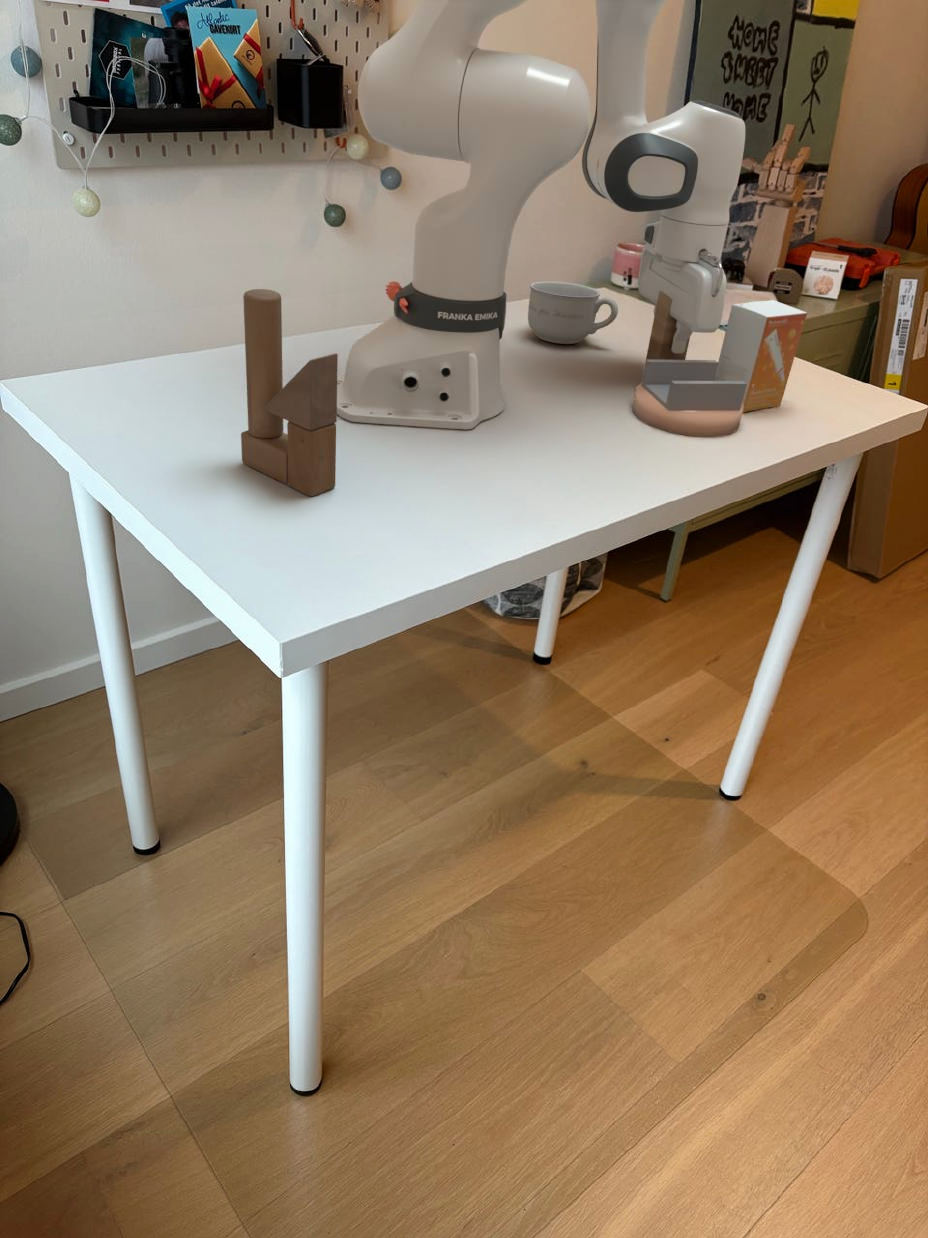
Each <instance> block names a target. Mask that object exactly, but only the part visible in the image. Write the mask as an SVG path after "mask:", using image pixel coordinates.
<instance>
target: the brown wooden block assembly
mask: <svg viewBox="0 0 928 1238" xmlns="http://www.w3.org/2000/svg"><path fill="white" fill-rule="evenodd" d="M282 316H283V314H282V295H281V294H280V293H279V292H277V291H275V290H272V289H267V288H266V289H265V288H264V289H263V288H253V289H249V290H246V291H245V292H244V294H243V318H244V319H243V321H244V324H243V325H244V349H245V350H244V351H245V353H244V354H245V373H246V374H245V375H246V378H245V379H246V401H247V427H248V428H247V429H248V430H244V431H242V432H241V433H240V440H241V441H240V443H241V461H242V464H244V465H246V466H248V467H249V468H252V469H254V470H256V471H259V472H261V473H262V474H264V475H267V476H269V477H270V478H272V479H275V480H276V481H279V482H280V483H282V484H285V485H288V486H289V487H290V488H292V489H294V490H296V491H297V492H300V493H302V494H305V495H306V496H308V497H315V496H317V495H320V494H322V493H325V492H328V491H329V490H332V489H335V487H336V466H337V465H336V459H337V424H336V423H337V421H338V419H337V415H338V414H337V376H338V357H339V356H338V355H339V354H338V353H335V352H334V353H332V354H328V355H324V356H319V357H316V358H312V359H310V360H309V361H307V363H306V364H305V365H304V366H302V368H300V370H299V371H298V372H297V373H296V374H295V375H294V376H293V377H292V378H291V379H290V380H289V381H288V382H287V383H286V384H285V385H283V383H284V382H283V380H284V379H283V334H282V333H283V329H282V328H283V327H282V326H283V324H282V323H283V322H282V319H283V318H282ZM284 420H285V421H288V422H287V425H286V426H287V431H286V432H287V433H285V432H284Z"/></svg>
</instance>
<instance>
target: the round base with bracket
mask: <svg viewBox="0 0 928 1238" xmlns="http://www.w3.org/2000/svg"><path fill="white" fill-rule="evenodd" d="M717 367H718V361H717V360H715V359H685V360H653V359H646V358H645V363H644V368H643V371H642V378H641V382H640V384H638V385H637V386H636V389H635V392H634V399H633V404H632V412H633V414H634V413H635V414H634V415H635V416H636V417H637V418H638V419H639V420H641V421H642V422H644V423H646V424H648V425H650V426H651V427H654V428H656V429H660V430H662V431H665V432H669V433H673V434H677V435H678V434H679V435H684V436H691V437H702V438H705V437H706V438H715V437H722V436H727V435H731V434H732V433H735V432H736V431H737V430H738V429H739V427H740V425H741V424H740V423H741V419H742V416H743V413H744V412H743V409H744V405H743V403H742V401H743V397H744V393H745V389H746V385H747V384H746V383H745V382H744V381H714V379H715V375H716V371H717Z"/></svg>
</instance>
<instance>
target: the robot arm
mask: <svg viewBox="0 0 928 1238" xmlns="http://www.w3.org/2000/svg"><path fill="white" fill-rule="evenodd" d="M527 1H528V0H419V1H418V3H417V5H416V7H415V8H414V10H413V12H412V13H411V15H410V16H409V17H408V19H407V20H406V22H405V23H404V24H403V25H402V27H401V28H399V30H398V31H397V32H396V33H395V34H394V35H393V36H392V37H391V38H390V39H388V40H386V41H385V42H384V43H383V44H381V45H380V46H378V47H377V48H376V49H375V50H374V51H372V53H371V55H370V56H368V57H369V58H368V59H367V60H366V62H365V64H364V66H363V67H362V68H363V69H362V71H361V73H360V77H359V80H358V81H359V82H358V88H357V105H358V110H359V113H360V118H361V120H362V123H363V126H364V127H365V129H366V130H367V132H368V134H369V135H370V137H371V138H372V139H373V140H374V141H377V142H378V143H380V144H383V145H385V146H389V147H391V148H393V149H396V150H398V151H402V152H405V153H407V154H409V155H413V156H414V155H415V156H423V157H429V158H435V159H443V160H450V161H457V162H464V163H466V164H469V165H470V169H469V176H468V179H467V182H466V185H465V186H464V188H462V189H458V190H457V191H453V192H451V193H449V194H446V195H444V196H441V197H438V198H437V199H435V200H434V201H431V202H430V203H428V205H426V206H425V207H424V208H423V209H422V211H421V212H420V214H419V216H418V217H417V220H416V222H415V227H414V241H413V242H414V245H413V257H412V258H413V260H412V280H411V282H410V283H408V284H407V285H405V286H404V287H402V286H401V283H399V282H398V281H390V282H388V283H387V284H388V285H386V286H385V287H386V288H385V294H386V295H387V297H388V298H389V300H390V301H392V302H393V315H392V316H391V317H390V318H388V319H386V320H385V321H383V322H382V323H381V324H380V325H378V326H377V327H375V328H374V329H373V330H371V331H369V332H368V333H366V334H365V335H363V336H362V337H361V338H359V339H357V340H355V342H354V343H353V345H352V347H351V349H350V351H349V354H348V357H347V361H346V365H345V372H344V374H341V375H337V415H338V416H339V417H340V418H343V419H344V420H347V421H350V422H353V423H365V424H380V425H381V424H382V425H393V426H395V425H397V426H407V427H408V426H410V427H422V428H423V427H424V428H425V427H426V428H439V429H455V430H456V429H457V430H472V429H474V428H475V427H476V426H477V425H478V424H479V423H480V422H482V421H485V420H487V419H490V418H493V417H495V416H497V415H499V414H501V413H502V411H503V410H504V408H505V401H504V398H503V391H502V382H501V381H502V380H501V369H500V368H501V364H500V361H501V359H500V357H501V355H500V347H501V346H500V345H501V340H502V339H503V332H504V329H505V325H506V317H507V293H506V292H505V290H504V289H505V283H506V282H505V280H506V273H507V268H508V259H509V254H510V250H511V249H510V248H511V243H512V238H513V234H514V230H515V226H516V225H517V224H516V223H517V221H518V219H519V216H520V214H521V212H522V209H523V208H524V206H525V205H526V203H527V201H528V199H529V198H530V197H531V195H532V194H533V193H534V192H535V191H536V190H537V188H538V187H539V186H541V184H542V183H544V181H545V180H547V179H548V178H549V177H551V176H552V175H553V174H554V173H556V172H558V171H559V170H561V169H562V168H564V167H566V166H567V165H568V164H569V163H570V162H572V160H573V159H574V158H575V157H576V156H577V155H578V153H579V151H581V149H582V147H584V148H583V150H582V157H581V167H582V173H583V178H584V179H585V181H586V183H587V185H588V187H589V188H590V189H591V190H592V191H593V192H594V193H595V194H596V195H598V196H599V197H600V198H603V199H605V200H608V201H609V202H610V203H611V204H613V205H615V206H616V207H618V208H619V209H621V210H624V211H626V212H630V213H644V212H654V211H656V212H657V211H660V217H659V220H658V221H655V222H652V223H648V224H646V225H645V226H644V228H643V232H642V241H643V242H644V243H645V244H644V246H643V248H642V251H641V256H640V263H639V270H638V276H637V277H638V278H637V287H638V293H639V294H640V295H641V296H643V297H644V298H646V299H647V300H649V301H650V302H651V303H652V304H654V309H653V317H654V316H655V311H656V306H657V301H658V296H659V291H661V292H662V293H664V294H665V295H667V296H668V297H670V298H671V299H672V303H671V307H670V315H671V316H672V317H673V318H675V319H676V320H677V323H676V328H677V331H676V333H675V335H674V337H671V338H670V344H669V349H670V350H671V351H672V352H673V353H680V354H681V353H683V352H684V351H685V347H686V342H687V340H688V339H689V337H690V338H691V336H692V334H693V333H701V334H702V333H707V334H709V333H715V332H716V331H717V330H718V328H719V327H720V325H721V322H722V319H723V311H724V306H725V301H726V292H727V277H726V273H725V271H724V269H723V266H722V256H723V255H722V253H723V249H724V245H725V240H726V235H727V232H728V228H729V223H730V205H731V201H732V198H733V195H734V194H735V192H736V190H737V187H738V184H739V178H740V174H741V170H742V164H743V160H744V159H743V158H744V151H745V143H746V124H745V121H744V120H743V117H742V116H741V115H740V114H739V113H738V112H737V111H733V110H731V109H729V108H725V107H723V106H719V105H717V104H714V103H710V102H708V101H703V100H697V99H695V100H690V101H689V102H688V103H686V105H684V106H682V107H681V108H680V109H678V110H676V111H674V112H672V113H671V114H669V115H667V116H664V117H662V118H659V119H656V120H653V121H651V122H648V120H647V114H646V110H645V109H646V104H645V103H646V85H647V68H648V67H647V65H648V63H647V62H648V47H649V42H650V41H649V40H650V35H651V32H652V28H653V26H654V23H655V21H656V19H657V17H658V15H659V14H660V12H661V10H662V9H663V7H664V6H665V4H666V3H667V2H668V0H594V1H595V13H596V22H597V23H596V24H597V25H596V26H597V47H596V49H597V51H596V54H597V55H596V86H595V87H596V90H595V91H596V92H595V95H596V96H595V98H596V99H595V112H594V117H593V121H592V124H591V120H592V119H591V117H592V105H591V104H592V103H591V98H590V93H589V90H588V87H587V85H586V82H585V80H584V78H583V76H582V75H581V74H580V72H579V70H577V69H575V68H573V67H570V66H568V65H565V64H563V63H560V62H558V61H555V60H551V59H548V58H546V57H543V56H539V55H535V54H527V53H518V52H510V51H509V52H508V51H502V50H501V51H500V50H499V51H498V50H492V49H490V50H489V49H483V48H480V47H478V46H479V43H480V39H481V36H482V34H483V33H484V31H485V29H486V28H487V26H488V25H489V24H490V23H491V22H492V21H493V20H494V19H495V18H497V17H499V16H501V15H503V14H505V13H508V12H509V11H512V10H515V9H516V8H519V7H520V6H522V5H523V4H524V3H526V2H527ZM590 125H591V126H590ZM584 143H585V144H584ZM583 145H584V146H583Z"/></svg>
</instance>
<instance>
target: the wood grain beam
mask: <svg viewBox="0 0 928 1238" xmlns="http://www.w3.org/2000/svg"><path fill="white" fill-rule="evenodd" d="M671 303H672V299H671V298H670V297H668V296H667V295H665V294H664V293H662V292H661V291H659V296H658V301H657V306H656V311H655V316H654V315H653V320H652V326H651V327H652V328H651V332H650V337H649V343H648V346H647V347H648V348H647V353H646V357H645V360H646V359H653V360H686V359H687V354H688V347H689V344H690V339H691V336H690V337H689V339H688V340H687V342H686V347H685V351H684V352H683V353H681V354H680V353H673V352H672V351H671V350H670V349H669V344H670V338H671V337H674V335H675V333H676V331H677V328H676V323H677V320H676V319H675V318H673V317H672V316H671V315H670V307H671Z"/></svg>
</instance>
